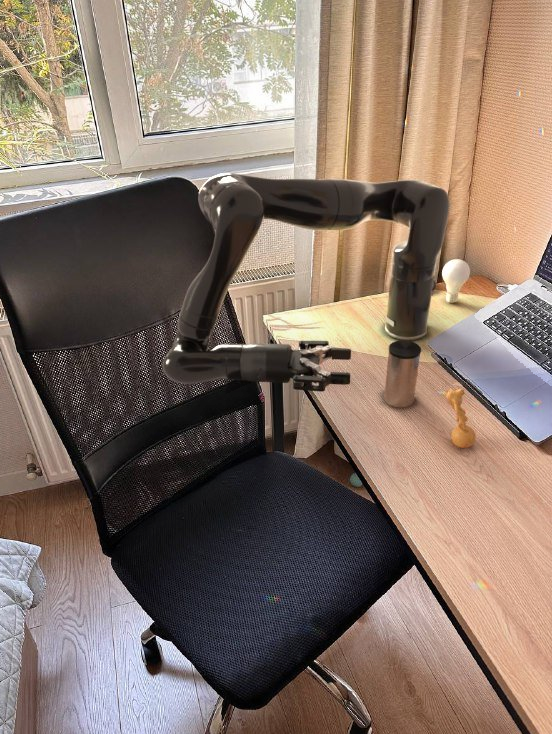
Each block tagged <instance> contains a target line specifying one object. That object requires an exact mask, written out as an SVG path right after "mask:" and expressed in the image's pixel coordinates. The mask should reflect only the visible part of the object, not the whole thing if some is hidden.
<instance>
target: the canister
mask: <svg viewBox="0 0 552 734" xmlns="http://www.w3.org/2000/svg"><path fill="white" fill-rule="evenodd" d="M421 353H422V346H421V345H420V344H418V343H416V342H415V341H413V340H400V339H398V340H394V341H393V342H391V343H390V344H389V345H388V356H387V357H388V358H387V365H386V376H385V388H384V396H383V400H384V401H385V403H386V404H387V405H389V406H391V407H395V408H399V409H400V408H401V409H403V408H407V407H410V406H411V405H412V404H414V400H415V395H416V394H415V393H416V387H417V386H416V385H417V381H418V380H417V378H418V372H419V366H420V357H421Z"/></svg>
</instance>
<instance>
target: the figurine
mask: <svg viewBox="0 0 552 734" xmlns="http://www.w3.org/2000/svg"><path fill="white" fill-rule="evenodd" d="M465 393H466V392H465V390H464V389H463V388H458V389H456V390H454V389H453V388H449V391H448V392H447V393H446V395H445V398H446V401H447V403H448V404H449V406H451V409H452V410H453V411H454V412H455V415H456V419H455V420H456V423H457V426H456V427H454V428H453V430H452V431H451V434H450V435H451V437H450V438H451V441H452V443H453V444H454V445H455V446H456V447H458V448H461V449H465V448H469V447H471V446H472V445H474V444H475V441H476V437H477V435H476V431H475V430H474V428H472V427H471V426H470V425H467V423H466V422H467V421H468V416H466V410H465V409H464V408H463V407H461V405H462V403H463V396H464V395H465Z"/></svg>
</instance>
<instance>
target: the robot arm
mask: <svg viewBox="0 0 552 734" xmlns="http://www.w3.org/2000/svg"><path fill="white" fill-rule="evenodd" d="M197 199H198V200H197V201H198V206H199V210H200V212H201V213H202V215H203V216H204V218H205V219H206V221H207V222H208V223H210V225H211V226H212V227H213V228H214V229H215V233H214V240H213V245H212V249H211V252H210V255H209V257H208V259H207V262H206V263H205V265H204V266H203V268H202V269H201V271H199V273H198V274H196V276H195V278H194V279H193V280H192V281H191V283H190V285H188V288H187V290H186V291H185V295H184V299H183V302H182V304H181V308H180V311H179V314H178V315H179V316H178V318H177V325H176V326H177V330H176V334H175V336H174V337H175V338H174V340H175V341H174V340H173V342H174V343H172V345H171V346H170V349H169V350H168V352H167V353H166V355H165V356H164V358H163V361H162V371H163V374H164V375H165V376H166V377H167V378H168V379H169V380H171V381H172V382H175V383H177V384H182V385H192V384H193V385H194V384H201V383H207V382H212V381H213V382H214V381H217V380H231V381H232V380H233V381H234V380H235V381H248V382H254V383H272V384H273V383H274V384H288V383H290V382H291V379H292V388H293V390H296V391H307V392H321V393H322V392H326V388H327V387H329V386H330V385H340V386H342V385H343V386H345V385H350V384H351V373H350V372H345V371H344V372H341V371H326V370H325V369H323V368H322V367H321V365H322V364H323V363H324V362H325V361H327V360H330V359H331V360H339V361H340V360H342V361H350V360H351V359H352V349H351V348H347V347H346V348H345V347H343V348H342V347H333V346H331V345H330V341H328V340H299V341H298V349H292V345H291V344H289V343H287V344H286V343H259V342H258V343H257V342H254V343H220V344H217V345H216V346H214V347H213V348H212V349H210V350H208V348H209V344H210V340H211V336H212V333H213V331H214V328H215V326H216V323H217V320H218V318H219V314H220V312H221V308H222V306H223V303H224V301H225V298H226V295H227V292H228V291H229V288H230V286H231V285H232V282H233V280H234V278H235V276H236V275H237V273H238V270H239V269H240V267H241V265H242V263H243V261H244V259H245V257H246V255H247V253H248V252H249V249H250V248H251V246H252V245H253V243H254V240H255V239H256V237H257V235H258V233H259V231H260V229H261V227H262V224H263V222H264V220H271V221H276V222H279V223H283V224H287V225H290V226H294V227H298V228H302V229H305V230H310V231H311V230H312V231H316V232H317V231H318V232H319V231H320V232H327V231H329V232H330V231H331V232H333V231H337V232H338V231H346V230H350V229H354V228H356V227H357V226H360V225H362V224H363V223H365V222H368V221H384V222H391V223H395V224H398V225H401V226H402V227H405V228H407V229H409V231H408V236H407V240H404V241H400V242H398V243H397V244H395V246H393V249H392V254H391V265H390V266H391V267H390V275H389V276H390V277H389V286H388V287H389V288H388V298H387V309H386V315H384V316H385V317H384V322H385V325H384V331H385V333H386V335H388V336H389V337H391V338H393V339H396V340H407V341H416V340H420V339H422V338H424V337H425V336H426V335H427V332H428V323H429V317H430V309H431V302H432V296H433V292H434V291H435V290H436V287H437V284H436V281H435V273H436V266H437V260H438V256H439V254H440V251H441V250H442V247H443V245H444V239H445V234H446V230H447V225H448V221H449V215H450V205H451V204H450V197H449V194H448V192H447V191H446V190H445V189H443V188H442V187H439V186H437V185H435V184H432V183H429V182H426V181H423V180H420V179H414V178H413V179H412V178H410V179H401V180H393V181H383V182H371V181H365V180H355V179H346V178H345V179H344V178H343V179H342V178H267V177H259V176H252V175H246V174H239V173H232V172H224V173H220V174H217V175H213V176H212V177H210V178H209V179H207V181H205V182H204V184H203V185H202V186H201V188H200V190H199V192H198V198H197ZM314 384H315V385H314ZM317 384H318V385H317Z"/></svg>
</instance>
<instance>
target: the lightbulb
mask: <svg viewBox="0 0 552 734" xmlns="http://www.w3.org/2000/svg"><path fill="white" fill-rule="evenodd" d="M470 275H471V268H470V266H469V264H468V263H467V262H466V261H465V260H463V259H460V258H459V259H458V258H454V259H451V260H449V261H447V262H446V263H445V265H444V266H443V268H442V272H441V277H442V279H443V281H444V283H445V287H446V289H445V290H446V296H445V301H447V302H448V303H450V304H453V303H456V302H457V301H458V297H459V292H460V291H461V289H462V287H463V285H464V284H465V283H466V282H468V280H469V279H470Z"/></svg>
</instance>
